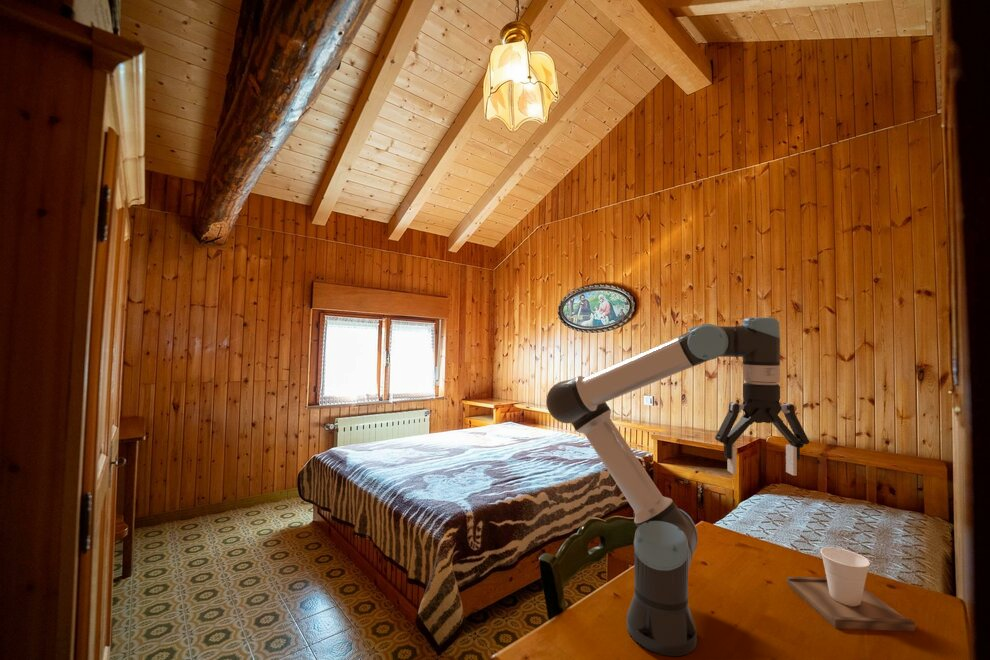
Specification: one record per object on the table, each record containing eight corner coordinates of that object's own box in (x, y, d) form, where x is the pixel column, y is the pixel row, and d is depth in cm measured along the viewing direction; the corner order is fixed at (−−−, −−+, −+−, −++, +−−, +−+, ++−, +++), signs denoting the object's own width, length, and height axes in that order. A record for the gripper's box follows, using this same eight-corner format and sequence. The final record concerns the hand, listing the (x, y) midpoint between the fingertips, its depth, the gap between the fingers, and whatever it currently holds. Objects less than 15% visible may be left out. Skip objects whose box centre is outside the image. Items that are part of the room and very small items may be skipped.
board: (835, 628, 101) (835, 619, 101) (786, 584, 119) (786, 576, 119) (914, 631, 100) (914, 622, 100) (853, 586, 118) (853, 578, 118)
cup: (880, 614, 103) (880, 569, 104) (833, 609, 106) (833, 564, 106) (855, 591, 113) (854, 549, 113) (812, 586, 115) (812, 545, 115)
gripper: (714, 383, 97) (714, 477, 97) (827, 385, 96) (828, 479, 96) (700, 380, 105) (700, 467, 105) (804, 381, 104) (805, 469, 103)
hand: (761, 473), depth 100 cm, fingers open, 13 cm apart
